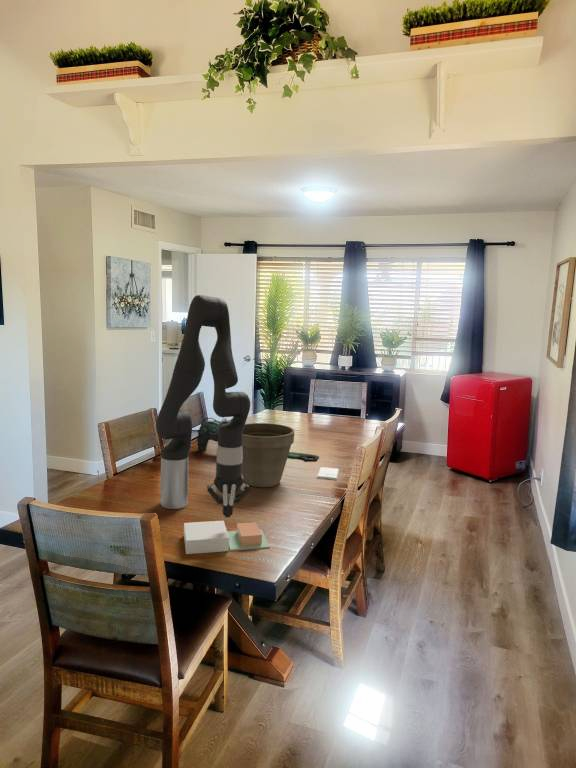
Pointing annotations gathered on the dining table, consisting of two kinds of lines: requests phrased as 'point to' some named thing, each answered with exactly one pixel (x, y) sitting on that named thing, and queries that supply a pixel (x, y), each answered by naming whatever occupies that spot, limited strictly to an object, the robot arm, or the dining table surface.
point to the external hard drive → (328, 473)
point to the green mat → (235, 545)
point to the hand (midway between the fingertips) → (227, 516)
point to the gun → (303, 456)
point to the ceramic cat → (209, 432)
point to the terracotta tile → (249, 534)
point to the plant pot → (265, 453)
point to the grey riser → (205, 537)
